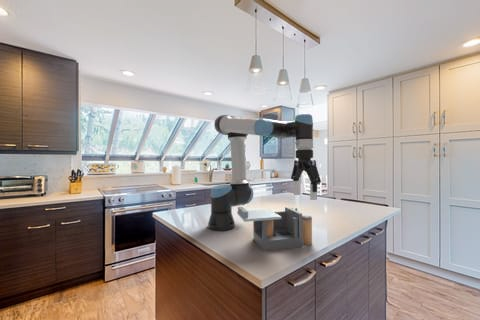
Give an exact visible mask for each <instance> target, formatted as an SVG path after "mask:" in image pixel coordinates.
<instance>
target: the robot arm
mask: <svg viewBox="0 0 480 320" xmlns="http://www.w3.org/2000/svg"><path fill="white" fill-rule="evenodd" d="M313 121H314V120H313V116H312V114H309V113H299V114H297V115H295V117H294V120H293V121H281V120H274V119H268V118H263V117H262V118H245V117H242V116H234V115H227V114H222V115H219V116H217V118H216V119H215V121H214V124H213V125H214V129H215V130H216V132H217V133H218V134H221V135H224V136H227V140H228V142H229V143H230V156H231V157H230V161H231V162H230V163H231V179H232V180H231V181H230V182H229V184H219V185H216V186H213V187H212V188H211V189H210V215H209V219H208V223H207V227H208V229H210V230H212V231H218V232H220V231H221V232H223V231H228V230H233V229H234V228H235V225H236V224H235V219H234V217H233V213H232V209H233V208H232V207H237V206H238V207H239V206H244V205H246V204H247V205H248V204H250V203H251V202H252V200H253V198H254V189H253V188H252V186H251V185H250V183H249V181H248V180H247V172H246V171H247V169H246V167H247V166H246V149H245V148H246V147H245V146H246V145H245V141H246V140H247V136H248V135H253V136H260V137H269V138H276V139H280V140H284V139H289V138H295V142H294V143H295V149H296V150H295V158H296V160H293V168H292V173H291V176H290V179H291V180H292V181H293V195H294V196H299V195H301V194H300V193H301V189H300V188H301V187H300V186H301V185H300V183H301V182H300V181H301V180H300V178H301V176H302V173H303V171H304V172H305V173H306V174H307V177H308V180H309V181H310V183H309V188H310V189H309V194H310V195H309V196H310V197H309V199H310V201H318V184H321V183H322V180H321V176H320V174H319V171H318V167H317V161H316V160H314V159H313V158H314V150H313V149H314V132H313V131H314V122H313ZM311 159H312V160H311Z"/></svg>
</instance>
